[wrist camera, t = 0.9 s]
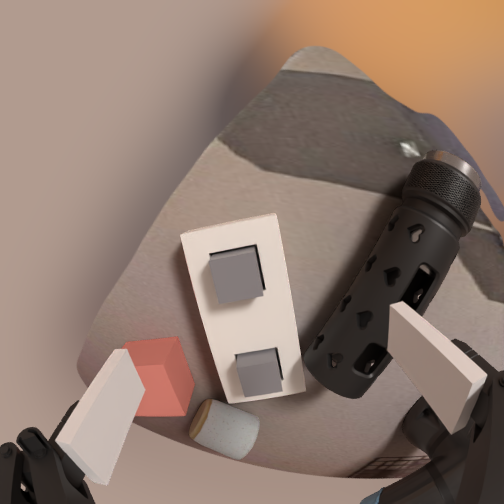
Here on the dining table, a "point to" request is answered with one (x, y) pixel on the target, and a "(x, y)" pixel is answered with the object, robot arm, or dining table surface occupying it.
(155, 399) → the salmon red cube
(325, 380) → the muzzle brake
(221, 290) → the button tagged
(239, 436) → the ceramic mug
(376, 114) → the dining table surface
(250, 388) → the button plain
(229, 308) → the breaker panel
